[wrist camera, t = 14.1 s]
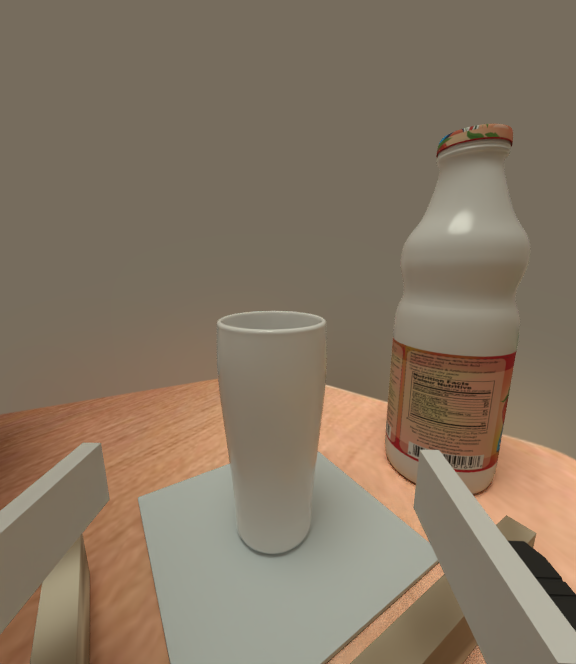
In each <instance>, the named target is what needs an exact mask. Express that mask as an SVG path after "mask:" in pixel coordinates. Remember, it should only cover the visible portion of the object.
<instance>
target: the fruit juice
mask: <svg viewBox="0 0 576 664" xmlns="http://www.w3.org/2000/svg"><path fill="white" fill-rule="evenodd" d="M512 142H513V132H512V128H511V127H509V126H507V125H504V124H484V125H477V126H472V127H468V128H464V129H461V130H458V131H455V132H453V133H451V134H449V135H447V136H445V137H444V138H443V139H442V140H441V141H440V143H439V146H438V151H437V166H438V167H439V168H440V173H439V178H438V182H437V185H436V188H435V191H434V194H433V196H432V199H431V201H430V203H429V206H428V208H427V210H426V213H425V215H424V217H423V218H422V220H421V222H420V223H419V225H418V226H417V227H416V228H415V229H414V231H413V232H412V233H411V234H410V236H409V237H408V239H407V240H406V242H405V244H404V247H403V250H402V255H401V272H402V277H403V282H404V294H403V297H402V299H401V301H400V303H399V305H398V307H397V310H396V315H395V321H394V329H393V346H392V358H391V371H390V383H389V396H388V409H387V422H386V435H385V449H386V454H387V457H388V459H389V461H390V463H391V464H392V466H393V467H394V468H395V469H396V470H397V471H398V472H399V473H400V474H401V475H403V476H404V477H406V478H407V479H409V480H410V481H412V482H414V483H416V480H417V471H418V461H419V452H420V450H439V451H440V452H441V453H442V455H443V456H444V457H445V458H446V460H447V461H448V462H449V464H450V465H451V466H452V468H453V469H454V470H455V472H456V473H457V474H458V476H459V477H460V478H461V480H462V481H463V482H464V484H465V485H466V486H467V488H468V489H469V490H470V492H471V493H472V494H475V493H478V492H481V491H483V490H484V489H486V488H487V487H488V486H489V485H490V483H491V482H492V480H493V477H494V474H495V472H496V466H497V460H498V455H499V449H500V443H501V437H502V431H503V425H504V419H505V413H506V407H507V402H508V396H509V390H510V384H511V378H512V372H513V366H514V361H515V355H516V350H517V346H518V338H519V327H520V315H519V311H518V308H517V305H516V301H515V295H516V290H517V288H518V286H519V284H520V282H521V279H522V278H523V276H524V274H525V272H526V269H527V267H528V264H529V257H530V242H529V238H528V236H527V234H526V232H525V231H524V229H523V227H522V226H521V224H520V223H519V221H518V219H517V217H516V215H515V213H514V210H513V207H512V203H511V200H510V196H509V192H508V187H507V182H506V177H505V171H504V161H505V158H507V157H508V156H509V154H510V149H511V146H512Z"/></svg>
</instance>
